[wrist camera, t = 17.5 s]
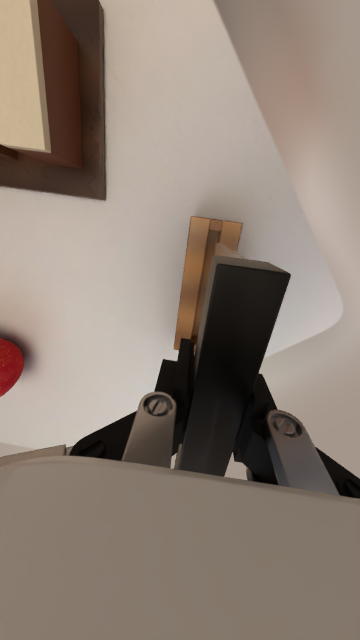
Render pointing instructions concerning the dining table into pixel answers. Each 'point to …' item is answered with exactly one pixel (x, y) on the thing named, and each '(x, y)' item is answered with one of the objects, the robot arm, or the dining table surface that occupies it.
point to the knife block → (200, 271)
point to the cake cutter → (228, 356)
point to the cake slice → (39, 83)
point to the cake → (31, 174)
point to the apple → (9, 365)
